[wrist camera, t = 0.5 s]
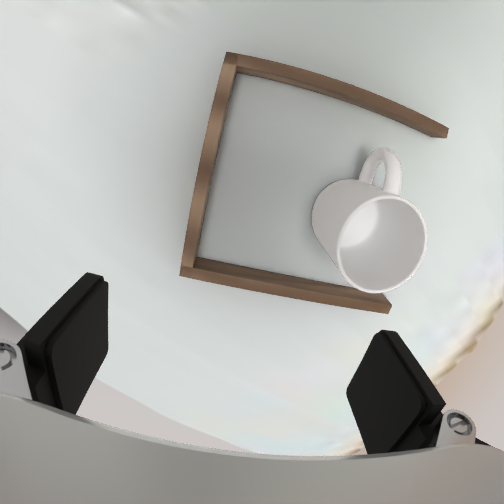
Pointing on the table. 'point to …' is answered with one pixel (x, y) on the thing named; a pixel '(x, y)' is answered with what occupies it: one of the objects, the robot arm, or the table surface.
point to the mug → (371, 227)
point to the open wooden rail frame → (190, 261)
